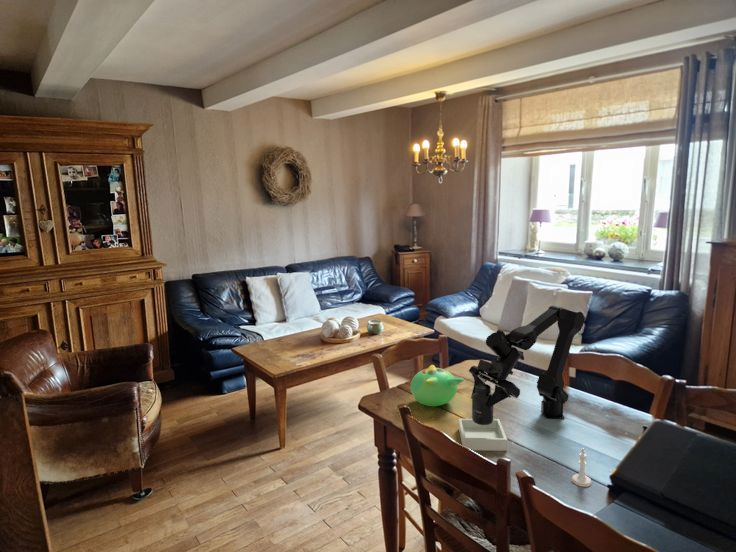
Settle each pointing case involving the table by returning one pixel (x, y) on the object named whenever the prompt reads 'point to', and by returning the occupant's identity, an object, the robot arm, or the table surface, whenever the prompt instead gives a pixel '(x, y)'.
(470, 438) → the tray
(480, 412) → the supplement bottle
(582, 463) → the chess piece
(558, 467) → the table surface
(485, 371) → the robot arm
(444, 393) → the toy bird
